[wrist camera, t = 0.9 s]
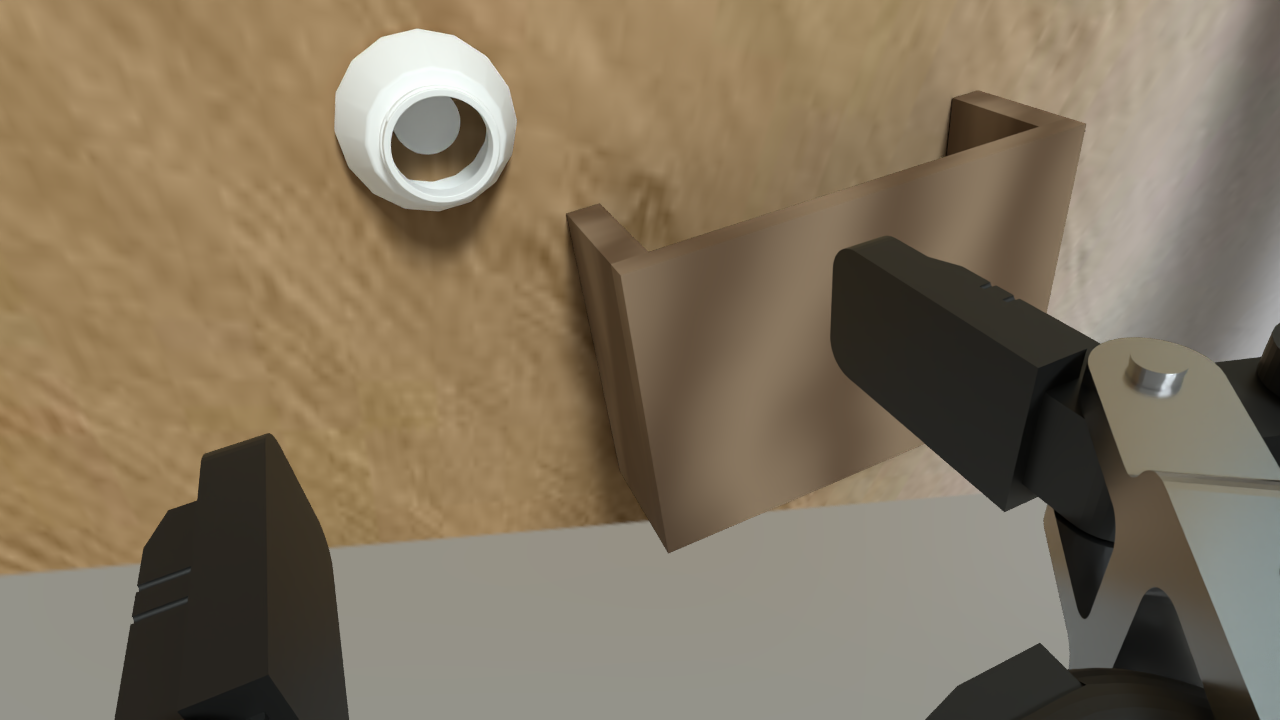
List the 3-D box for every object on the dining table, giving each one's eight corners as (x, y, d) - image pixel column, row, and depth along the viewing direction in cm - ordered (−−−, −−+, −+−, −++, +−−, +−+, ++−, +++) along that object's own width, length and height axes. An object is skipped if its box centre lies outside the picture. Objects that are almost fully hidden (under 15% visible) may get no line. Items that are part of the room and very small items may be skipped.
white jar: (538, 89, 23) (384, -11, 20) (568, 113, 21) (399, 4, 18) (459, 227, 24) (303, 152, 22) (479, 265, 22) (307, 185, 19)
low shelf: (978, 90, 29) (1086, 123, 26) (947, 343, 36) (1028, 399, 33) (566, 213, 25) (620, 275, 22) (620, 471, 32) (668, 553, 29)
